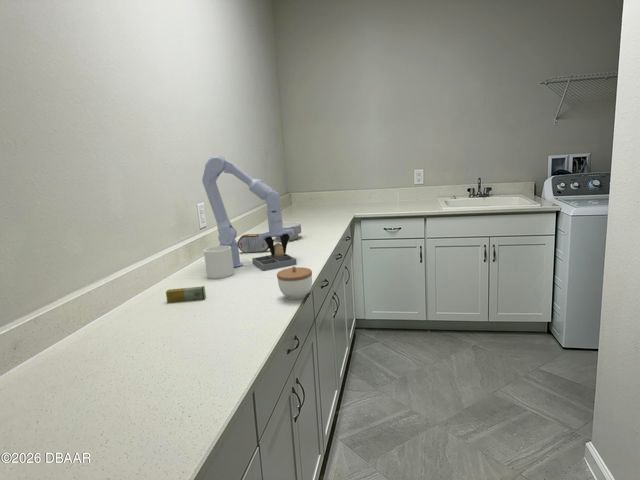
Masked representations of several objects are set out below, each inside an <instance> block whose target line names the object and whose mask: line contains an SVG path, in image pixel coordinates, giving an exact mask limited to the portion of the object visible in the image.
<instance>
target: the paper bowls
mask: <svg viewBox="0 0 640 480" xmlns="http://www.w3.org/2000/svg"><path fill="white" fill-rule="evenodd" d="M282 224H283V230H287V229H293V230H294V234H289V236H290V238H289V240H288V242H290V241H294V240H296V239H297V238H298V236H299V235H300V234H301V233H302V225H301V222H297V221H282ZM273 236H274V235H273ZM275 239H276V240H277V241H279V242H281V238H280V236H277V237H275Z"/></svg>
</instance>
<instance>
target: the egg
mask: <svg viewBox="0 0 640 480" xmlns="http://www.w3.org/2000/svg"><path fill="white" fill-rule="evenodd" d="M273 257H274V258H279V257H284V249H283V246H282V244H281V243H279V242H278V243H275V244H274V255H273Z"/></svg>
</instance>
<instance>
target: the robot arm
mask: <svg viewBox="0 0 640 480" xmlns="http://www.w3.org/2000/svg"><path fill="white" fill-rule="evenodd" d="M222 173H225V174H230V175H233V176H234V177H236V178H237V179H239V180H240V181H242V182H243V183H245V184H246V185H247V186H248V188H249V191H250V192H251V193H252V194H253V195H255V196H257V197H258V198H260V199H261V200H262V201H265V203H266V206H267V207H266V208H267V210H266V213H267V216H266V217H267V223H268V225H267V226H268V231H267V232H263V233H258V234H259V239H260V240H261V239H264V240H265V241H266V243H267V245H268V247H269V249H268V250H269V251H270V255H274V245H275V244H274V243H275V239H273V238H276V237H277V236H280V238H281V241H280V242H281V243H280V244H281V245H282V246H283V249H284V253H285V254H287V253H286V252H287V246H288V243H289V241H288V240H289V238H290V236H289V234H294V230H293V229H287V230H283V224H282V222H283V215H282V213H283V212H282V209H281V201H282V199H281V197H280V194H279V192H277V190H274V188H273V187H270V186H268V184H266V183H265V181H264V180H263V179H260V178H255V179H254V178H253V177H251V176H250V174H247V173H246V172H245V171H244V170H243V169H241V168H240V167H239V166H238V165H236V164H235V163H234V162H232V161H231V160H228V159H226V158H225V157H224V156H222V155H213V156H211V157H210V158H209V159H208V160H207V161H206V163H205V165H204V171H203V175H202V179H201V180H202V184H203V188H204V190H205V193H206V196H207V199H208V201H209V204H210V207H211V211H212V212H213V216H214V219H215V222H216V225H217V232H218V238H217V240H218V241H219V246H230V247H231V251H232V259H233V267H234V268H235V267H241V266H242V267H243V266H244V264H243V262H241V259H240V251H239V250H240V249H239V247H238V241H237V240H236V238H237V235H238V234H237V230H236V228H235V227H234V226H233V225H232V222H231V221H230V218H229V216H228V212H227V209H226V207H225V204H224V202H223V198H222V195H221V193H220V190H219V187H218V185H217V180H218V179H219V177H220V175H221V174H222ZM273 235H274V236H273Z"/></svg>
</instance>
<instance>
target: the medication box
mask: <svg viewBox="0 0 640 480" xmlns="http://www.w3.org/2000/svg"><path fill="white" fill-rule="evenodd" d="M165 295H166V301H167V304H174V303H184V302H186V303H187V302H196V301H205V300H206V299H207V295H206V287H205V285H202V286H192V287H182V288H173V289H167V290H166V291H165Z"/></svg>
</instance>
